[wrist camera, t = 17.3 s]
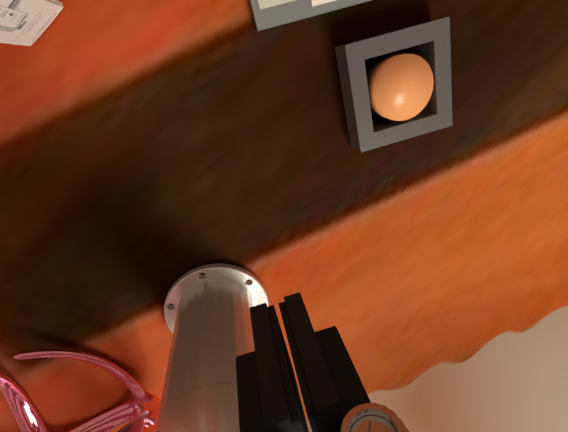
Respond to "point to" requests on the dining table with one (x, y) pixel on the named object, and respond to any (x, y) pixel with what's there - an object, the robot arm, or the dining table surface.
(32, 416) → the spiral basket
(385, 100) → the button
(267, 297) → the robot arm
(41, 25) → the ink box
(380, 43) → the button housing
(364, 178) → the dining table surface
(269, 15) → the picture board
